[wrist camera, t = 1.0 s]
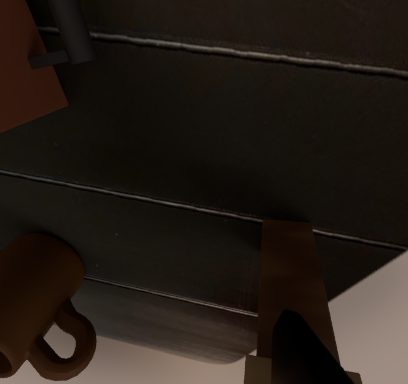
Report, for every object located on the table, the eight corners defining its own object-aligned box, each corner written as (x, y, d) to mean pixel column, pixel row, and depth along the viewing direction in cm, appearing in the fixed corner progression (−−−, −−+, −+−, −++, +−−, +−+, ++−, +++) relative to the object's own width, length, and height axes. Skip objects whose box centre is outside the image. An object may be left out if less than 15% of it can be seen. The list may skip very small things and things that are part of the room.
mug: (136, 266, 26) (78, 370, 18) (122, 310, 30) (69, 411, 22) (16, 217, 26) (-94, 301, 18) (18, 268, 30) (-71, 355, 22)
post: (311, 222, 20) (343, 376, 11) (305, 257, 22) (329, 415, 13) (262, 218, 21) (257, 362, 12) (260, 253, 22) (254, 401, 14)
